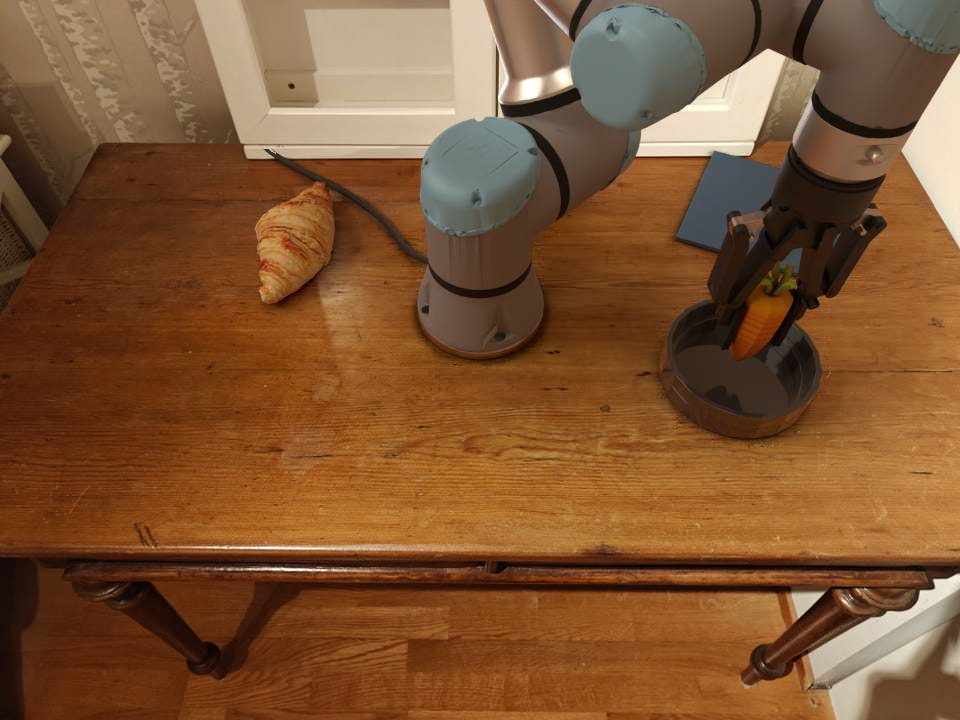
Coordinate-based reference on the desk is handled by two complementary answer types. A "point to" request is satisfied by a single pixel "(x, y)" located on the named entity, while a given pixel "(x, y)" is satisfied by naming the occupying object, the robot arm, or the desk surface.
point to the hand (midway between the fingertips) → (746, 337)
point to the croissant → (295, 242)
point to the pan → (737, 377)
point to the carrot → (763, 313)
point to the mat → (730, 202)
